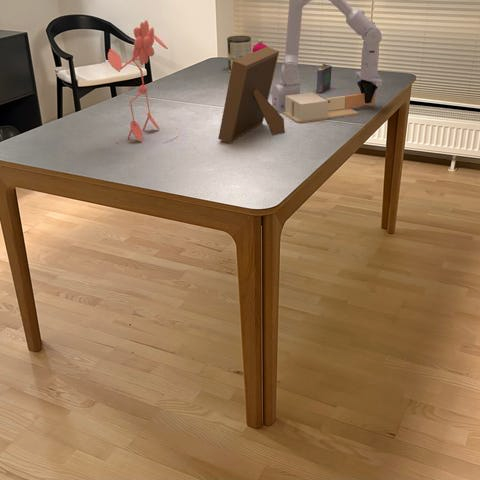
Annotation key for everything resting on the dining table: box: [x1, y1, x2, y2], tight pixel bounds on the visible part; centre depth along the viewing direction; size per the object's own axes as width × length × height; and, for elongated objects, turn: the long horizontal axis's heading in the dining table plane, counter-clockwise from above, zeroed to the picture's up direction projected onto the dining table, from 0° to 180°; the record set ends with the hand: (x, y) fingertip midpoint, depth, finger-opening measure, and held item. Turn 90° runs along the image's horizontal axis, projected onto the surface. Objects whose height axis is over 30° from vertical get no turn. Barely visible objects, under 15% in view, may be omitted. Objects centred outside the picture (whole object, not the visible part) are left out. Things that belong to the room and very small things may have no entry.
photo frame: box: [218, 46, 286, 144], centre depth 188 cm, size 15×22×25 cm
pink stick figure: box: [107, 19, 179, 145], centre depth 186 cm, size 15×26×35 cm, turn 156°
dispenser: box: [282, 91, 359, 124], centre depth 211 cm, size 23×12×6 cm, turn 111°
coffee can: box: [226, 35, 252, 73], centre depth 268 cm, size 10×10×14 cm
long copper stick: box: [324, 92, 377, 111], centre depth 214 cm, size 20×1×4 cm, turn 111°
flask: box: [316, 62, 333, 94], centre depth 237 cm, size 9×3×11 cm, turn 146°
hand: (366, 102), depth 217 cm, fingers closed on long copper stick
